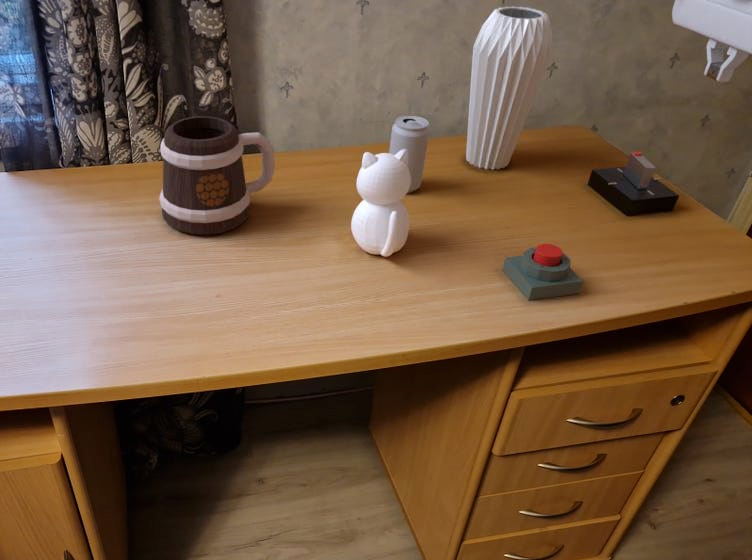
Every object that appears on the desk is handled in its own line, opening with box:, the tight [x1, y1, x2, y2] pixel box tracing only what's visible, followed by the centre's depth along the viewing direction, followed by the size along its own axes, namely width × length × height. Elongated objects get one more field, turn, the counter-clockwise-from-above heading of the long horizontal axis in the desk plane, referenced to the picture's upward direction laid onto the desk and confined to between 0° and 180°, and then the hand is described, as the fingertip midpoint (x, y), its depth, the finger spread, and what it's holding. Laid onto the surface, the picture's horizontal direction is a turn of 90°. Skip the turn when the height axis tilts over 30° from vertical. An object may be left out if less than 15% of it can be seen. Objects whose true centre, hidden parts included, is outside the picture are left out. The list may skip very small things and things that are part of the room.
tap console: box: [586, 165, 680, 217], centre depth 119 cm, size 12×10×3 cm
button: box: [533, 243, 564, 267], centre depth 97 cm, size 4×4×2 cm
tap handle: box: [623, 151, 656, 189], centre depth 117 cm, size 6×2×4 cm, turn 2°
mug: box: [158, 115, 275, 236], centre depth 110 cm, size 20×15×15 cm
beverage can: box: [388, 115, 431, 194], centre depth 119 cm, size 6×6×12 cm
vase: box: [465, 6, 553, 171], centre depth 123 cm, size 13×13×26 cm
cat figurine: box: [350, 149, 411, 258], centre depth 102 cm, size 9×12×15 cm
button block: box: [501, 246, 584, 301], centre depth 99 cm, size 8×8×4 cm
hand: (715, 78), depth 91 cm, fingers closed
